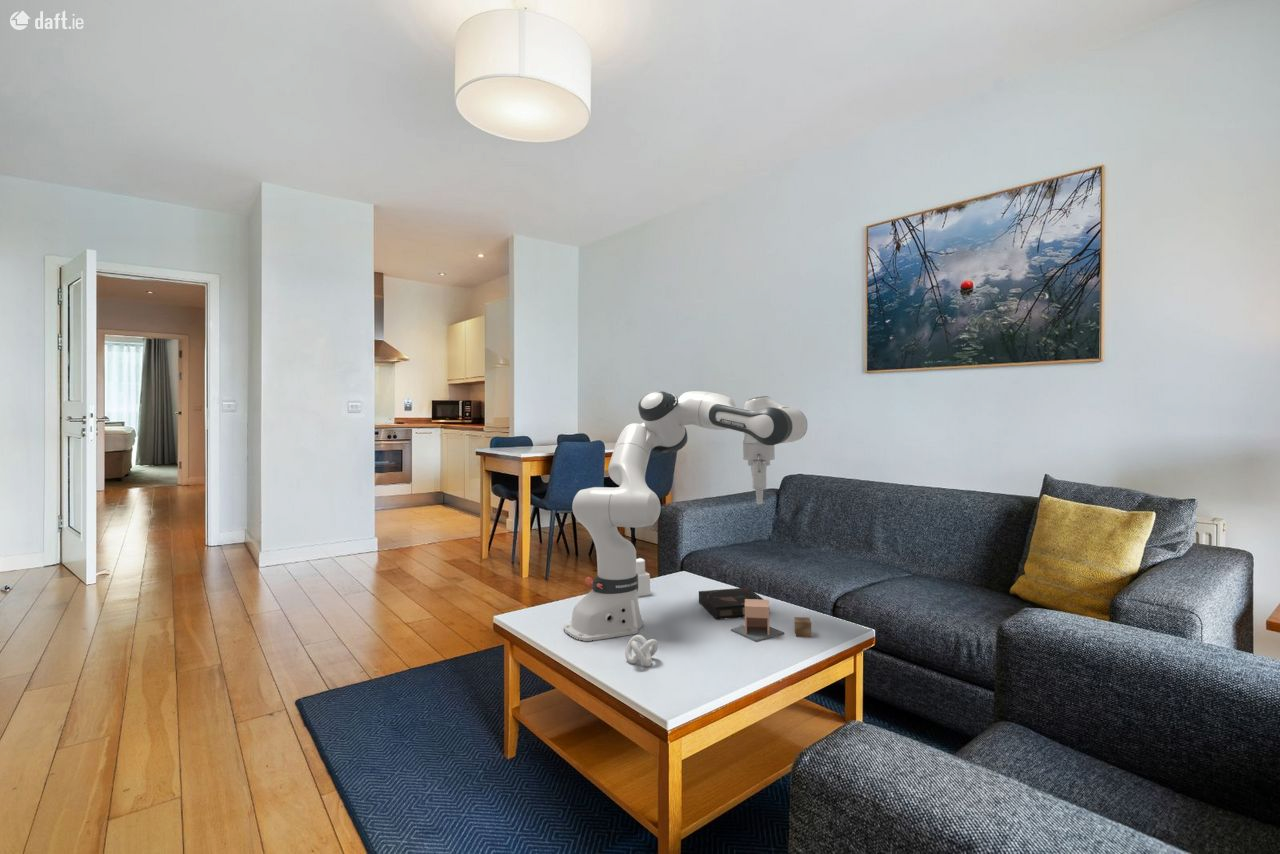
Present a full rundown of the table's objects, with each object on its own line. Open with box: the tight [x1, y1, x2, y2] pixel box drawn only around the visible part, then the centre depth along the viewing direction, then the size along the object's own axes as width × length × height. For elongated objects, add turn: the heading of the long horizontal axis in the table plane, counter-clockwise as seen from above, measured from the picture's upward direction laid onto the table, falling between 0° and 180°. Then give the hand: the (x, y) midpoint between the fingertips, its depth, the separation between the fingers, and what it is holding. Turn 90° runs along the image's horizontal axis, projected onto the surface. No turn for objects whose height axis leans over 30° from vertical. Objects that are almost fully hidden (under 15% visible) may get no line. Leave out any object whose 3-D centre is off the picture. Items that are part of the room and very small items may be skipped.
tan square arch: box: [744, 599, 770, 635], centre depth 165 cm, size 6×6×8 cm
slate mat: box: [730, 624, 785, 643], centre depth 165 cm, size 10×10×1 cm
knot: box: [625, 634, 659, 668], centre depth 146 cm, size 8×8×6 cm
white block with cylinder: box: [636, 556, 651, 598], centre depth 202 cm, size 7×7×12 cm
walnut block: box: [793, 616, 812, 638], centre depth 163 cm, size 4×4×4 cm
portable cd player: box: [698, 587, 770, 620], centre depth 185 cm, size 16×17×4 cm
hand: (759, 501), depth 174 cm, fingers open, 8 cm apart
